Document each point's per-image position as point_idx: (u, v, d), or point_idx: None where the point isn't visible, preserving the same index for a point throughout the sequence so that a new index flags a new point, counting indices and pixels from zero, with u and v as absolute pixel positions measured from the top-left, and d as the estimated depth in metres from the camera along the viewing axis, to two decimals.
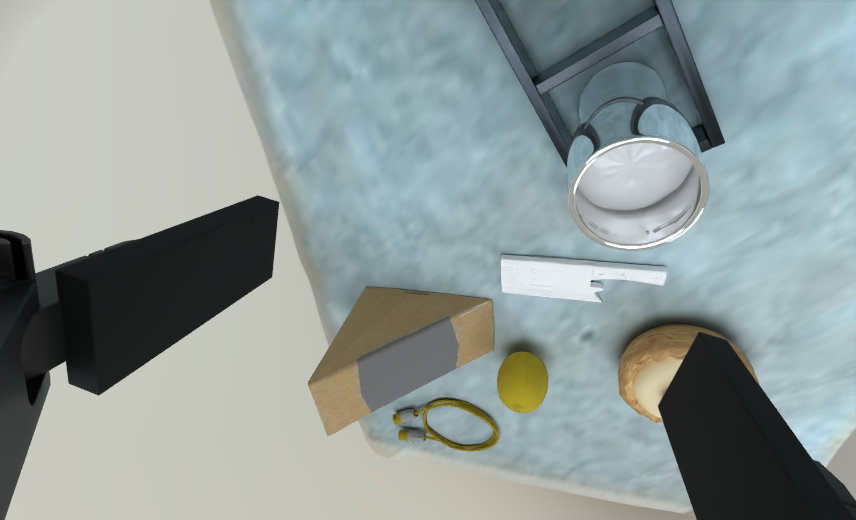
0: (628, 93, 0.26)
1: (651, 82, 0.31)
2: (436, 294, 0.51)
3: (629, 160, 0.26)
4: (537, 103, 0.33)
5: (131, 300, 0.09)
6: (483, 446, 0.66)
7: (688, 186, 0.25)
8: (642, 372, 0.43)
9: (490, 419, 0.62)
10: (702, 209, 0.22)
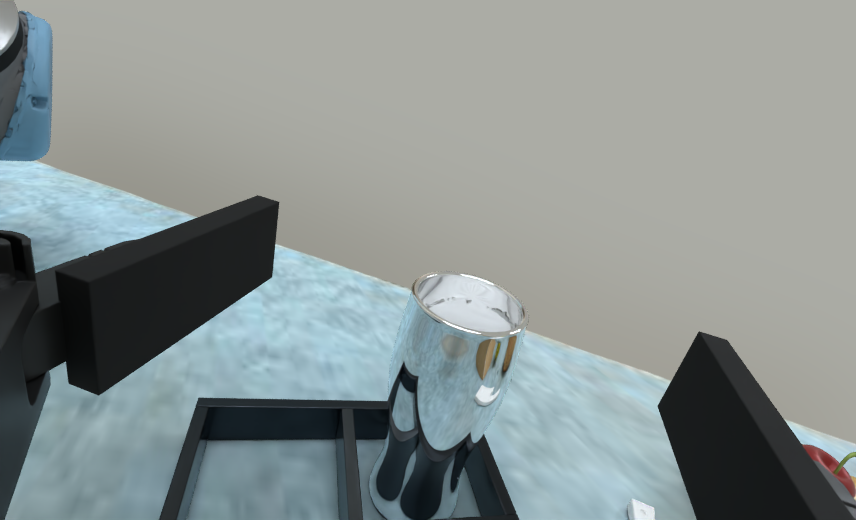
0: None
1: None
2: None
3: None
4: None
5: (131, 300, 0.09)
6: None
7: None
8: None
9: None
10: (488, 280, 0.27)
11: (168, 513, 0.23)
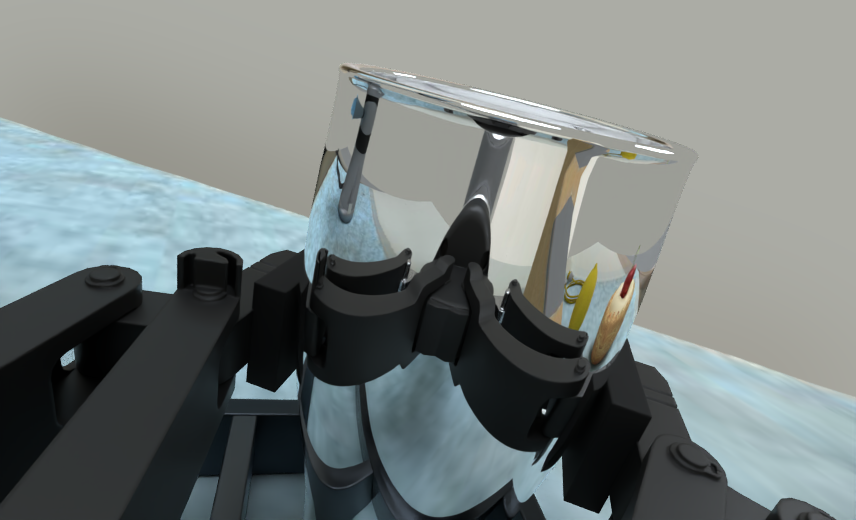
0: None
1: None
2: None
3: None
4: None
5: None
6: None
7: None
8: None
9: None
10: (545, 105, 0.11)
11: None
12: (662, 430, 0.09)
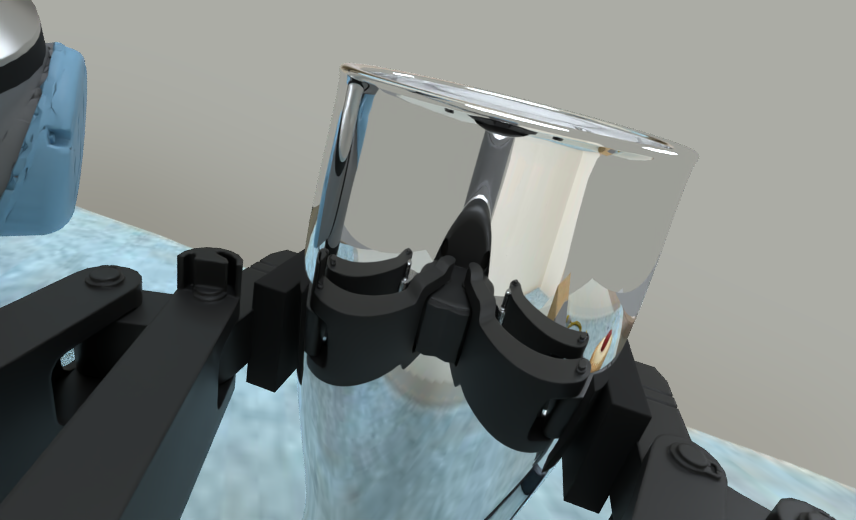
0: None
1: None
2: None
3: None
4: None
5: None
6: None
7: None
8: None
9: None
10: (546, 105, 0.11)
11: None
12: (662, 430, 0.09)
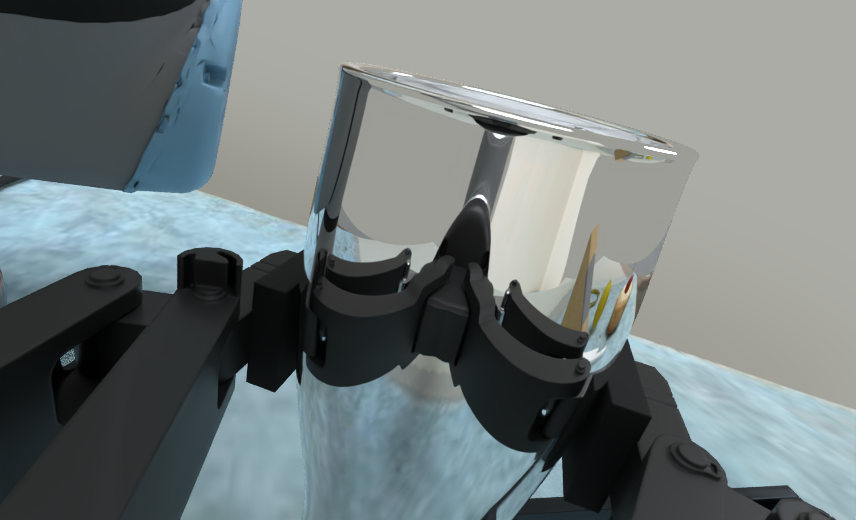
0: None
1: None
2: None
3: None
4: None
5: None
6: None
7: None
8: None
9: None
10: None
11: None
12: (662, 430, 0.09)
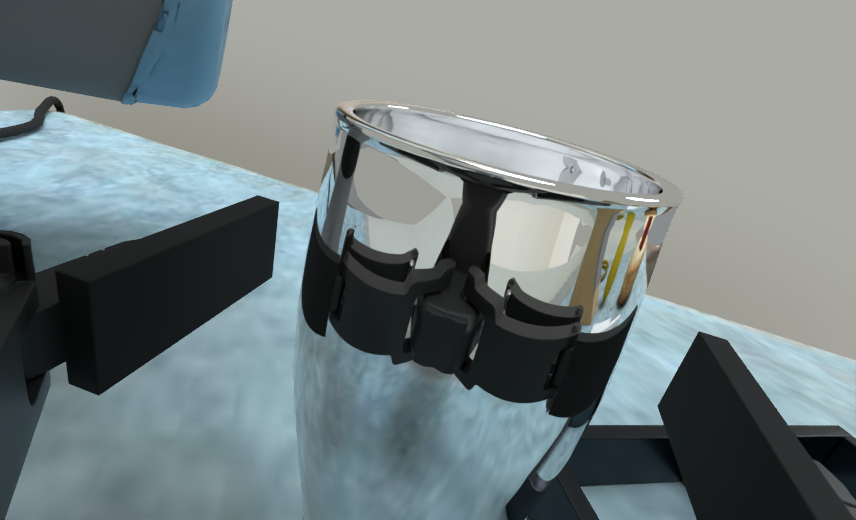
0: None
1: None
2: None
3: None
4: None
5: (131, 300, 0.09)
6: None
7: None
8: None
9: None
10: (538, 133, 0.11)
11: None
12: None
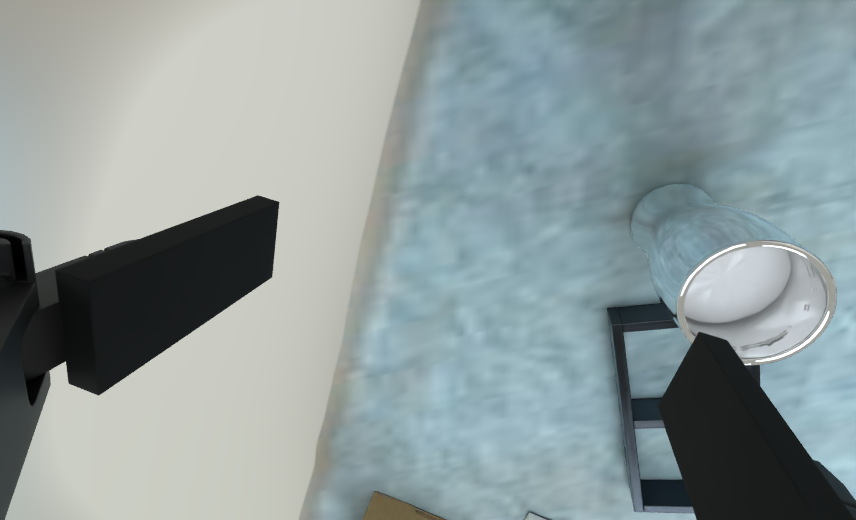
0: None
1: None
2: None
3: (726, 269, 0.25)
4: (629, 432, 0.39)
5: (131, 300, 0.09)
6: None
7: (775, 313, 0.25)
8: None
9: None
10: (816, 337, 0.21)
11: (638, 326, 0.35)
12: None
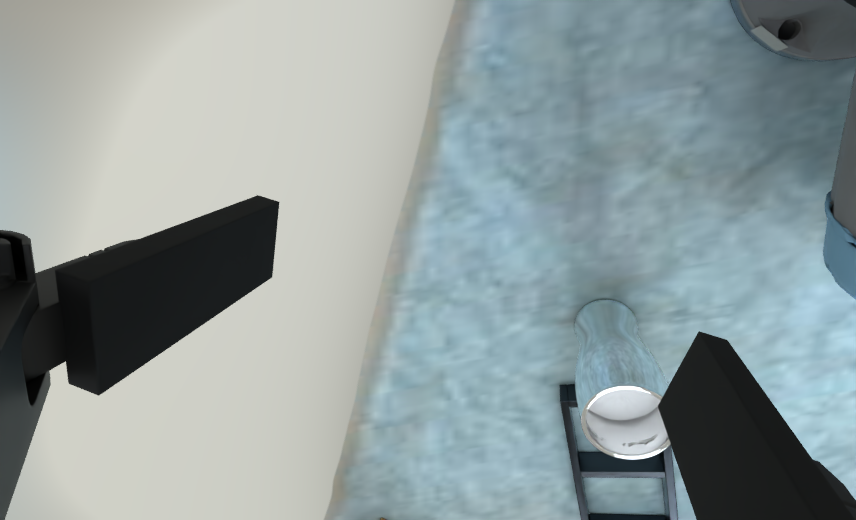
0: (628, 339, 0.37)
1: (633, 325, 0.43)
2: None
3: None
4: (577, 480, 0.50)
5: (131, 300, 0.09)
6: None
7: (654, 418, 0.36)
8: None
9: None
10: (668, 445, 0.33)
11: None
12: None
